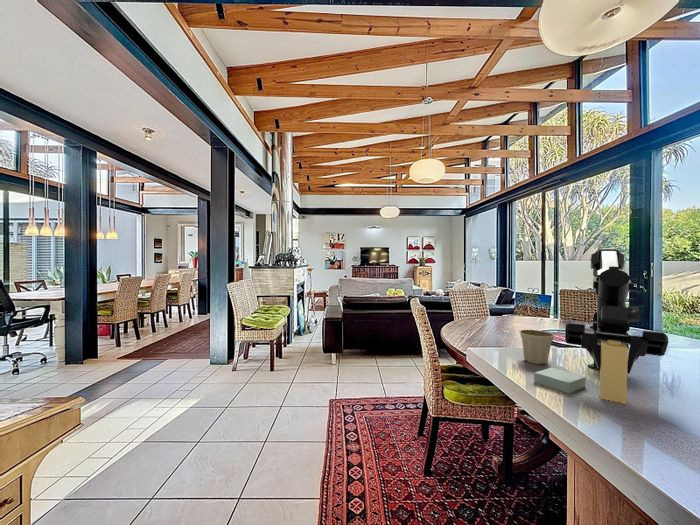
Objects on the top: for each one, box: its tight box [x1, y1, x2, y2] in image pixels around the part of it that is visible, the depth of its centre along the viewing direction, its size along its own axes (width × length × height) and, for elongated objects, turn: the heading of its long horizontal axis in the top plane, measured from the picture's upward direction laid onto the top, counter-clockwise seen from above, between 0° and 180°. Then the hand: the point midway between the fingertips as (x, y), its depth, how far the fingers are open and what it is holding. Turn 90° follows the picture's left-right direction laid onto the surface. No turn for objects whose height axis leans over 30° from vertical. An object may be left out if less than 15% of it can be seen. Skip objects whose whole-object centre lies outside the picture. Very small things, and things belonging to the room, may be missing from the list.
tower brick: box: [598, 340, 629, 405], centre depth 77 cm, size 4×4×13 cm
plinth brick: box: [533, 367, 586, 395], centre depth 85 cm, size 8×8×2 cm
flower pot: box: [518, 329, 556, 365], centre depth 104 cm, size 9×9×9 cm
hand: (613, 370), depth 76 cm, fingers open, 5 cm apart
